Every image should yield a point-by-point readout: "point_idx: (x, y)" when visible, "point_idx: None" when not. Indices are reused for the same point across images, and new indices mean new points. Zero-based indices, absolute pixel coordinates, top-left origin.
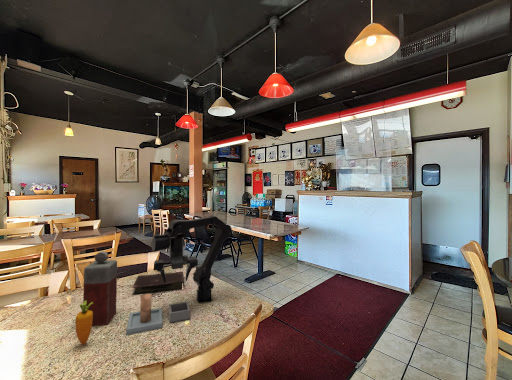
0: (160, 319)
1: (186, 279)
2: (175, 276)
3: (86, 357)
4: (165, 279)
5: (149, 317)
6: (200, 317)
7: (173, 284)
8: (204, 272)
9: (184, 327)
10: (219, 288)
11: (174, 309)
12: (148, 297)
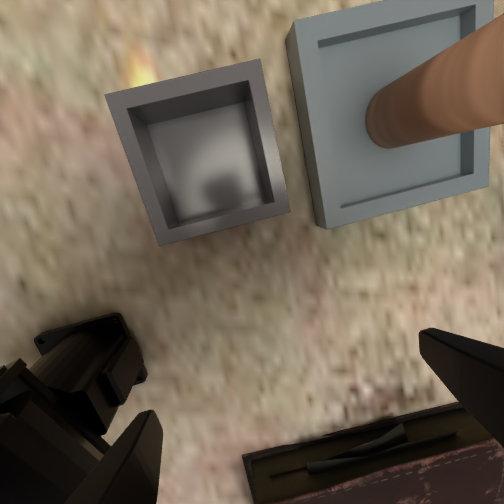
0: (312, 74)
1: (136, 426)
2: None
3: None
4: (480, 362)
5: (386, 90)
6: (67, 135)
7: (304, 482)
8: None
9: (147, 19)
10: None
11: (246, 205)
12: None
